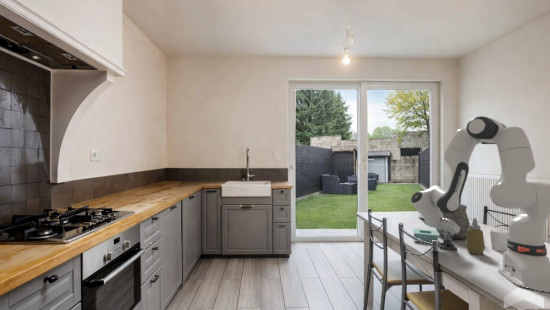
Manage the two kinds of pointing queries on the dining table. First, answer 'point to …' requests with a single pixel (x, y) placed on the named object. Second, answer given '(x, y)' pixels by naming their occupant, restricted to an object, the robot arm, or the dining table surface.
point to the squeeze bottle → (475, 239)
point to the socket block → (425, 235)
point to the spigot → (447, 239)
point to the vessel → (458, 221)
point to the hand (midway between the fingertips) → (448, 233)
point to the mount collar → (447, 247)
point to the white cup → (499, 239)
